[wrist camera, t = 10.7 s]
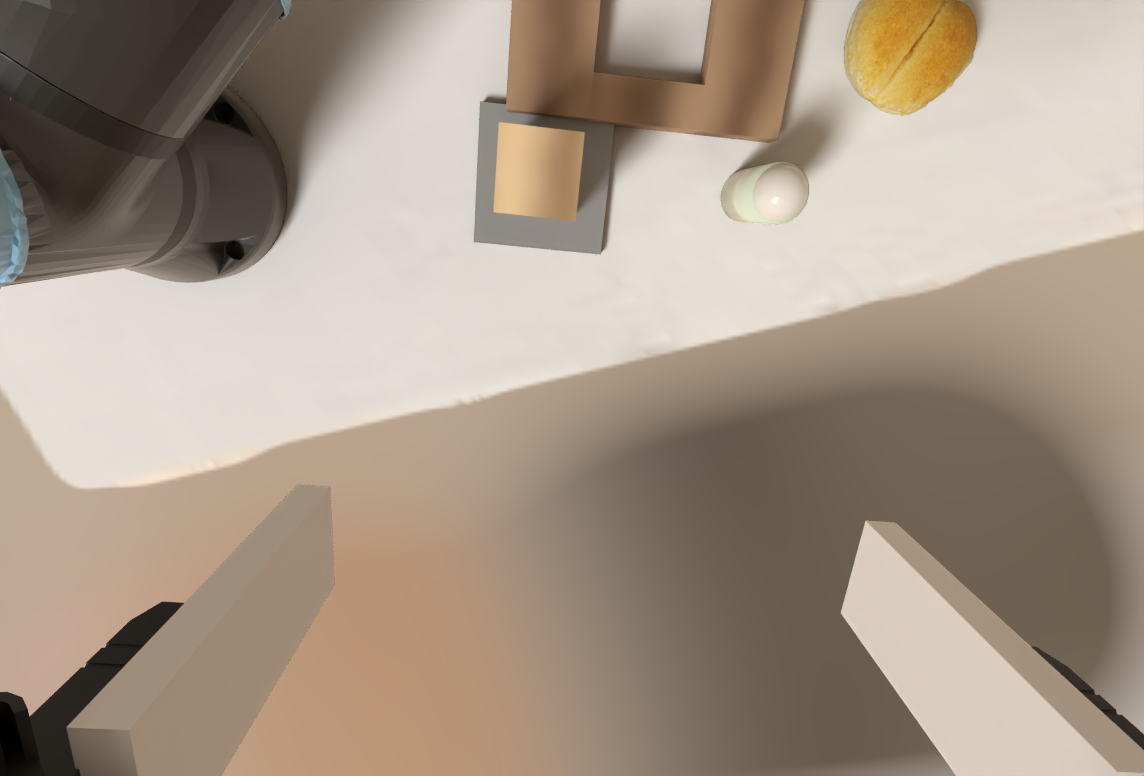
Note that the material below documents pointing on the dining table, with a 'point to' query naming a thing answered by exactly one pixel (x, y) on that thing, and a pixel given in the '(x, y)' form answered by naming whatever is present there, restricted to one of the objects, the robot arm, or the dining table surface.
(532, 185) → the oak block
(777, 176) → the sage shaker
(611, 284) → the dining table surface
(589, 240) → the slate board
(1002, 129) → the dining table surface
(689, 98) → the walnut board
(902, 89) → the bread roll
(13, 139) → the robot arm
